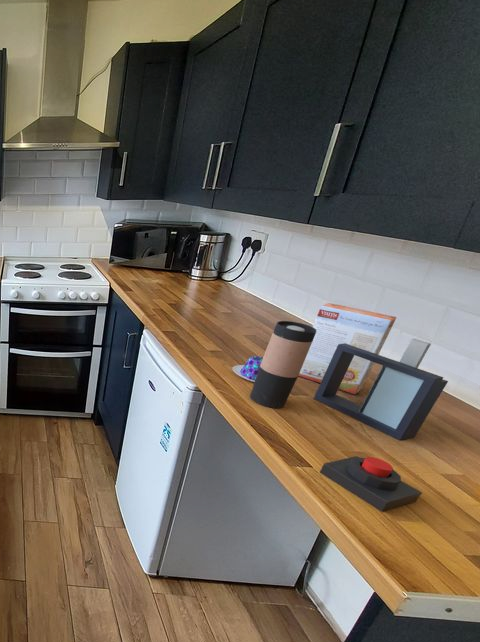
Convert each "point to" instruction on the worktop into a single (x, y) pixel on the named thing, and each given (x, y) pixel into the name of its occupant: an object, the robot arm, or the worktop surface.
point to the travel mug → (282, 363)
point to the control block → (370, 484)
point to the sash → (415, 352)
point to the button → (377, 467)
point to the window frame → (383, 393)
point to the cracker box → (345, 328)
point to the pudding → (249, 368)
